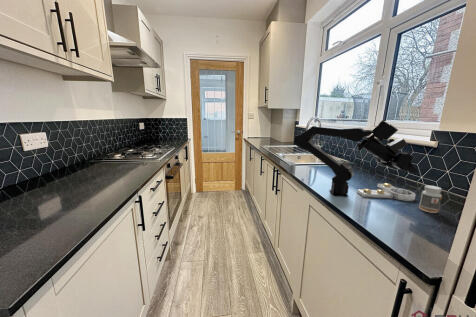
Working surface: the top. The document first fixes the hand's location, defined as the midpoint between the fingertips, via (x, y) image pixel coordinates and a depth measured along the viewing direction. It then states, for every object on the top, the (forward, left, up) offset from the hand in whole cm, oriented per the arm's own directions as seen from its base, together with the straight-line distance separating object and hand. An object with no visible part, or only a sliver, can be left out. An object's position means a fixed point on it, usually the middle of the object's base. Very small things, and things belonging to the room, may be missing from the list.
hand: (409, 170), depth 80 cm
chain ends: (-2, +12, -15) cm, 20 cm away
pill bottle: (+6, -5, -15) cm, 17 cm away
